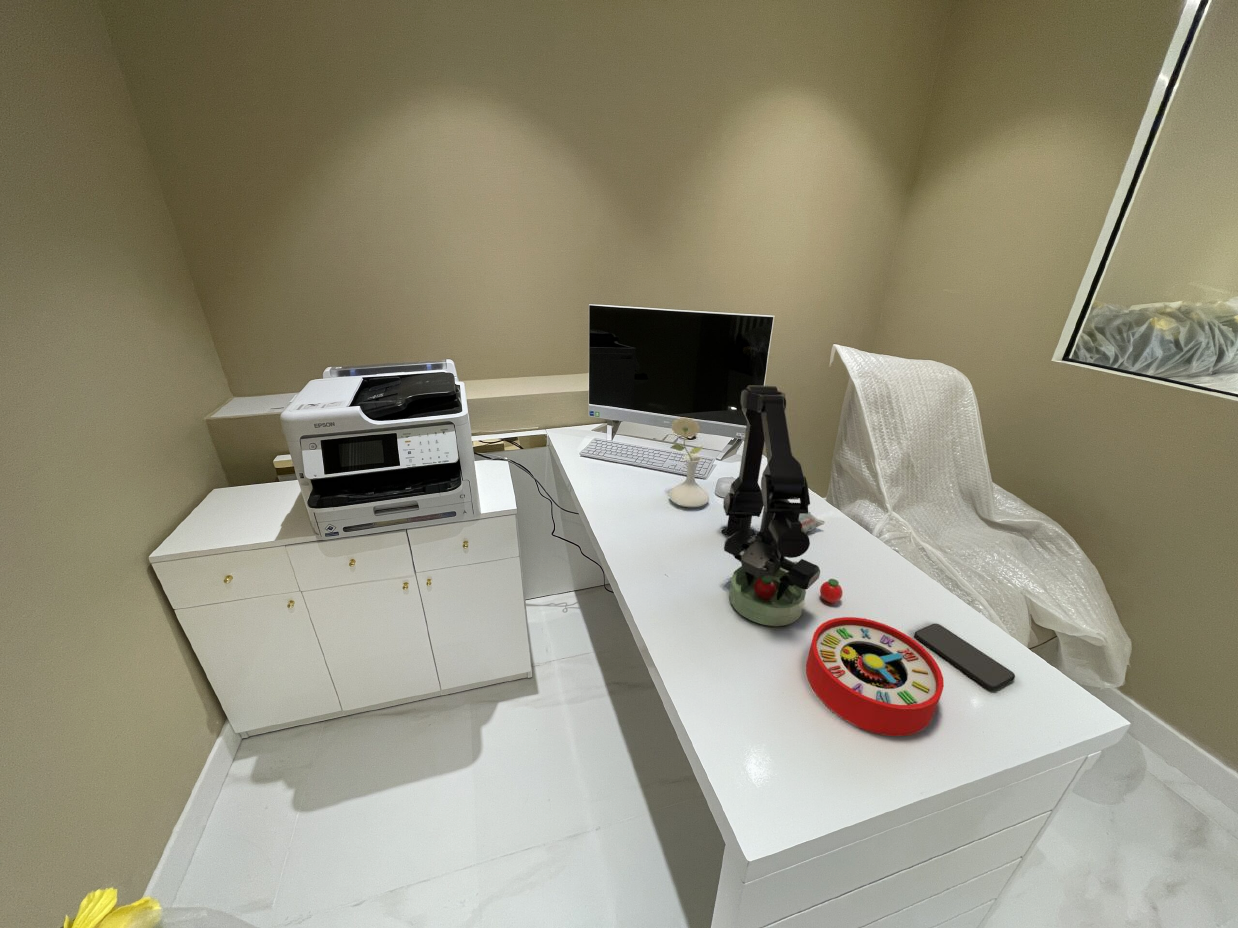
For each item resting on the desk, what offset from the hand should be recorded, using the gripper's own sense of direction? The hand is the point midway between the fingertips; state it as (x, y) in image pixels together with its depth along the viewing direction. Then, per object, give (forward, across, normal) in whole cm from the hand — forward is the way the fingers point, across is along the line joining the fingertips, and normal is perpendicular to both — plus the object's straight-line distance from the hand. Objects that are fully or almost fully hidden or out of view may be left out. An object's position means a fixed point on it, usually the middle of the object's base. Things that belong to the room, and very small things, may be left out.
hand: (764, 591), depth 105 cm
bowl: (+2, +1, -1) cm, 2 cm away
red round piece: (+1, 0, 0) cm, 1 cm away
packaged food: (+2, -8, +31) cm, 32 cm away
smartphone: (+2, +34, +12) cm, 36 cm away
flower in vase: (+2, -38, +23) cm, 44 cm away
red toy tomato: (+2, +10, +10) cm, 14 cm away
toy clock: (+2, +24, -7) cm, 25 cm away
